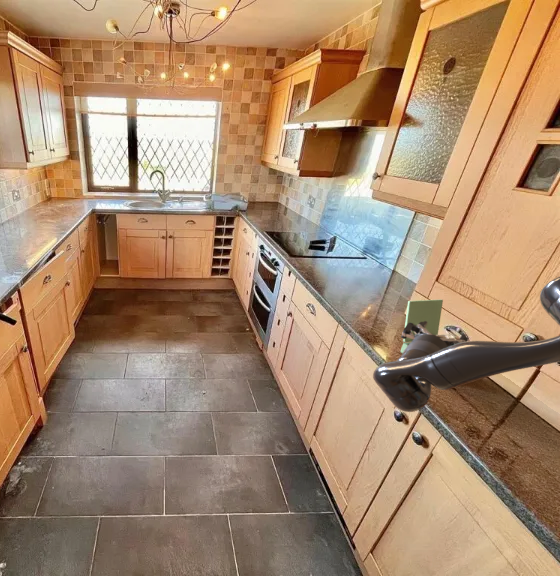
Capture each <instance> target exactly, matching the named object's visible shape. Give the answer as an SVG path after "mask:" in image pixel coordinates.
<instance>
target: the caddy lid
mask: <svg viewBox="0 0 560 576" xmlns="http://www.w3.org/2000/svg"><path fill="white" fill-rule="evenodd" d="M443 302H444V299H439V298H438V299H423V300H422V299H421V300H407V307H406V315H405V324H404V328H405V327H406V326H407V324H408V323H409V322H410V323H413V324H414V325H417V324H419V323H420V322H424V321H427V325H426V327H425V328H426V329H427V330H428V331H429V333H431V334H434V335H439V330H440V322H441V316H442V309H443ZM411 332H412V333H413V335H415V333H414V331H411ZM412 341H413V339H411V338H408V337H407V338H406V339H403V338H402V342H403V343H408V342H412Z"/></svg>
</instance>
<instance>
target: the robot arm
mask: <svg viewBox="0 0 560 576" xmlns="http://www.w3.org/2000/svg"><path fill="white" fill-rule="evenodd" d="M539 301H540V304H541V306H542V308H543V310H544V311H545V312H546V313H547V314H548V316H550V318H552V319H553V320H554V322H555V323H556V325H558V326H559V327H560V276H558V277H556V278H553V279H551V280H550V281H549V282H547V283H546V285H544V286H543V288H542V289H541V291H540V293H539ZM426 325H427V321H424V322H420V323H419V324H417V325H414V324H413V323H410V322H409V323H408V324H407V326H406V327H405V326H404V327H403V328H404V329H402V333H401V336H400V338H402V340H403V339H406V338H407V337H408V338H411V339H413V341H412V342H411V343H410V344H409V345H408V346H407V347H406V349H405V350H404V352H403V354H402V353H401V354H400V356H399V357H398V358H397V359H396V360H392V361H387V362H384V363H381V364H379V365H378V366H377V367H376V368H375V369H374V370H373V373H372V378H373V381H374V383H375V384H376V385H377V386H378V388H379V389H380V390H381V391H382V392H383V394H384V395H385V396H386V397H387V399H389V402H390V403H392V405H393V406H394V407H395V408H396V409H398V410H400V411H402V412H405V413H415V412H417V411H420V410H422V409H423V408H425V406H426V405H427V404H428V402H429V401H430V399H431V396H432V395H431V394H432V386H433V387H434V388H436V389H438V390H441V391H447V390H451V389H455V388H457V387H460V386H464V385H468V384H470V383H473V382H476V381H479V380H483V379H485V378H486V379H487V378H489V377H492V376H496V375H500V374H504V373H508V372H513V371H518V370H523V369H524V370H525V369H528V368H535V367H539V366H540V367H541V366H546V365H551V364H555V363H560V334H559V335H557V336H553V337H550V338H546V339H540V340H534V341H533V340H532V341H523V342H522V341H495V340H469V341H468V339H469V337H467V334H465V333H462V334H461V336H460V338H459V339H455V338H453V337H449V338H446V339H445V338H442V337H439V336H436V335H434V334H431V333H429V331H428V330H427V329H426V328H425V327H426ZM411 331H414V333H415V335H413V333H412V332H411Z"/></svg>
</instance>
